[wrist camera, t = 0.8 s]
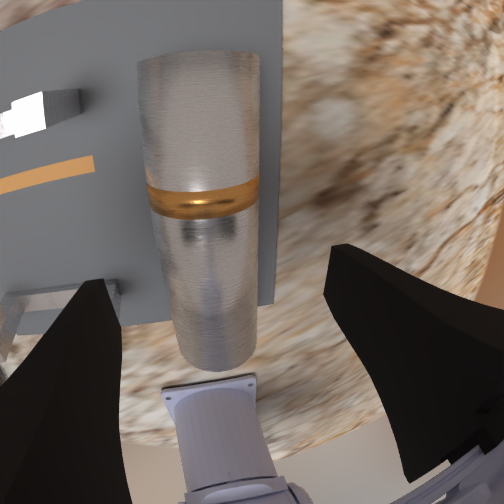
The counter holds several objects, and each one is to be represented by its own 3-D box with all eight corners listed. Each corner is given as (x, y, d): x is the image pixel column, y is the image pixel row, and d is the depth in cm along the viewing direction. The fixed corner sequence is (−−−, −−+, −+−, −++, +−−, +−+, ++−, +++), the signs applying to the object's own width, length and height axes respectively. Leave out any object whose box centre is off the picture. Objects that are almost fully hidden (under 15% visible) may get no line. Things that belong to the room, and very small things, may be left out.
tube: (246, 308, 19) (266, 362, 15) (175, 319, 18) (183, 377, 14) (243, 60, 11) (277, 51, 8) (141, 67, 10) (128, 58, 7)
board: (270, 297, 20) (273, 303, 19) (19, 329, 16) (17, 335, 15) (277, -9, 10) (282, -12, 9) (-54, 65, 6) (-60, 66, 6)
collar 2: (121, 295, 16) (116, 356, 12) (12, 308, 14) (-9, 361, 10) (116, 278, 15) (107, 339, 11) (5, 293, 13) (-20, 345, 10)
